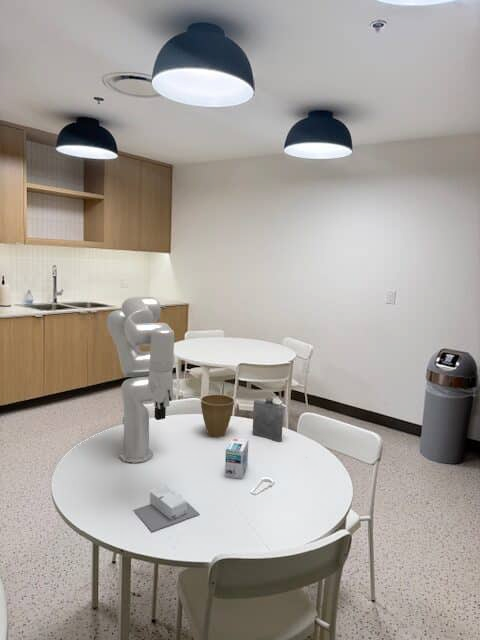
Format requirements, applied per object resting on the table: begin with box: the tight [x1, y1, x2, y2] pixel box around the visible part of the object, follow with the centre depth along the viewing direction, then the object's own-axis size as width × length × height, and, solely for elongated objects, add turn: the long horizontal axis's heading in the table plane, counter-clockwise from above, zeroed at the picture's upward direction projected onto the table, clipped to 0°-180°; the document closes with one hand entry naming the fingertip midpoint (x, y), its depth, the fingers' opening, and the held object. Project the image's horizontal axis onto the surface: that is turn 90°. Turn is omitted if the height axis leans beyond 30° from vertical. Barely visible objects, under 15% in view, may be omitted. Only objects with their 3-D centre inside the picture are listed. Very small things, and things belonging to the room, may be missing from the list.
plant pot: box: [200, 394, 235, 438], centre depth 199 cm, size 15×15×16 cm
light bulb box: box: [224, 437, 249, 480], centre depth 166 cm, size 11×7×11 cm, turn 168°
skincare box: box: [149, 485, 188, 520], centre depth 140 cm, size 6×4×12 cm
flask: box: [251, 397, 284, 443], centre depth 198 cm, size 4×14×18 cm, turn 58°
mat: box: [133, 494, 200, 533], centre depth 139 cm, size 13×16×1 cm
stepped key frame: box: [249, 476, 276, 496], centre depth 156 cm, size 13×5×2 cm, turn 155°
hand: (159, 418), depth 149 cm, fingers closed
